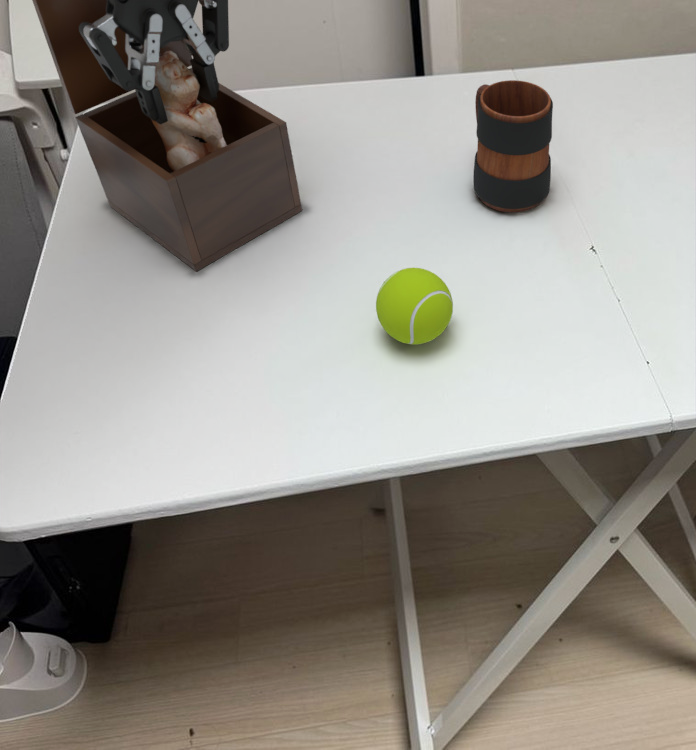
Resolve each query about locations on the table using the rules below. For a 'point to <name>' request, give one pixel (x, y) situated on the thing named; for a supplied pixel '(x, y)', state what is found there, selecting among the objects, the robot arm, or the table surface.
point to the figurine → (184, 115)
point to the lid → (85, 51)
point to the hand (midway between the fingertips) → (183, 108)
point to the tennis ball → (414, 306)
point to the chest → (195, 177)
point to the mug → (513, 145)
